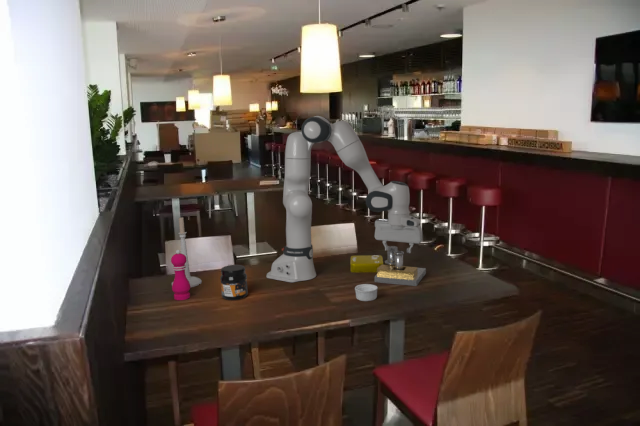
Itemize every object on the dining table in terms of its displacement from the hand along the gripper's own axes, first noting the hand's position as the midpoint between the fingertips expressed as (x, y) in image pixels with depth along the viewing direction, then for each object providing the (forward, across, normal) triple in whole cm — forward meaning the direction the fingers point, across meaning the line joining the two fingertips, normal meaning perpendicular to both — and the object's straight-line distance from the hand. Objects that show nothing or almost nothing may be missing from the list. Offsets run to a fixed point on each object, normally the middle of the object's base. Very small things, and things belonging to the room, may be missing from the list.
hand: (397, 251), depth 223 cm
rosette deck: (+12, +1, +2) cm, 12 cm away
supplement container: (+14, -56, -41) cm, 71 cm away
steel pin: (+12, +1, 0) cm, 12 cm away
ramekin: (+13, -5, -26) cm, 29 cm away
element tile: (+13, -18, +13) cm, 26 cm away
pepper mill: (+15, -76, -49) cm, 92 cm away
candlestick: (+15, -86, -33) cm, 93 cm away
